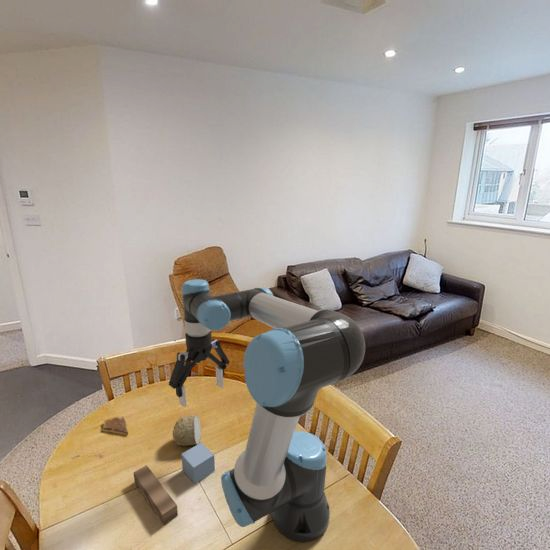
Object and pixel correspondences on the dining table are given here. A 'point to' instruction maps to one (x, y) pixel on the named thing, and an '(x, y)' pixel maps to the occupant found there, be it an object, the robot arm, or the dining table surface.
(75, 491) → the dining table surface
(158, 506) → the brown wavy bar
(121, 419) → the shard
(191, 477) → the block
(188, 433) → the cut rock
